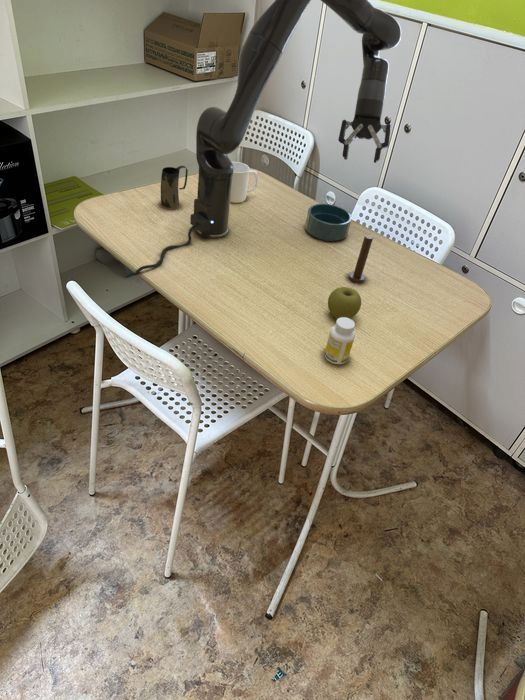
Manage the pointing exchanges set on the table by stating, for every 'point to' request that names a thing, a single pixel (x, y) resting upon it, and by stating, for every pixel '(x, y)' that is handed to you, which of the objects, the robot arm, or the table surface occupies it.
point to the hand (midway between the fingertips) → (360, 160)
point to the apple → (344, 302)
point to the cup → (241, 182)
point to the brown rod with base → (361, 261)
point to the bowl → (328, 222)
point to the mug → (171, 187)
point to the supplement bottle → (340, 341)
